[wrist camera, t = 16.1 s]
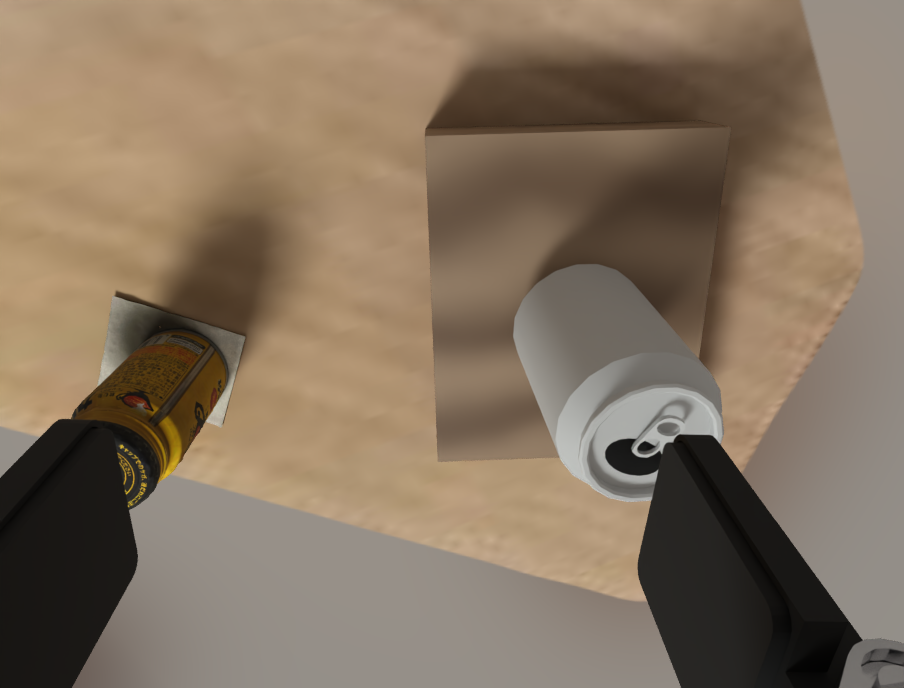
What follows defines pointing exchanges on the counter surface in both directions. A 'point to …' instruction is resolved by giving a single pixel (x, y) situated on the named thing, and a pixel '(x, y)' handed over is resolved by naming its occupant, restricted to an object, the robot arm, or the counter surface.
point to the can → (611, 378)
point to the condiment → (159, 389)
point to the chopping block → (555, 251)
